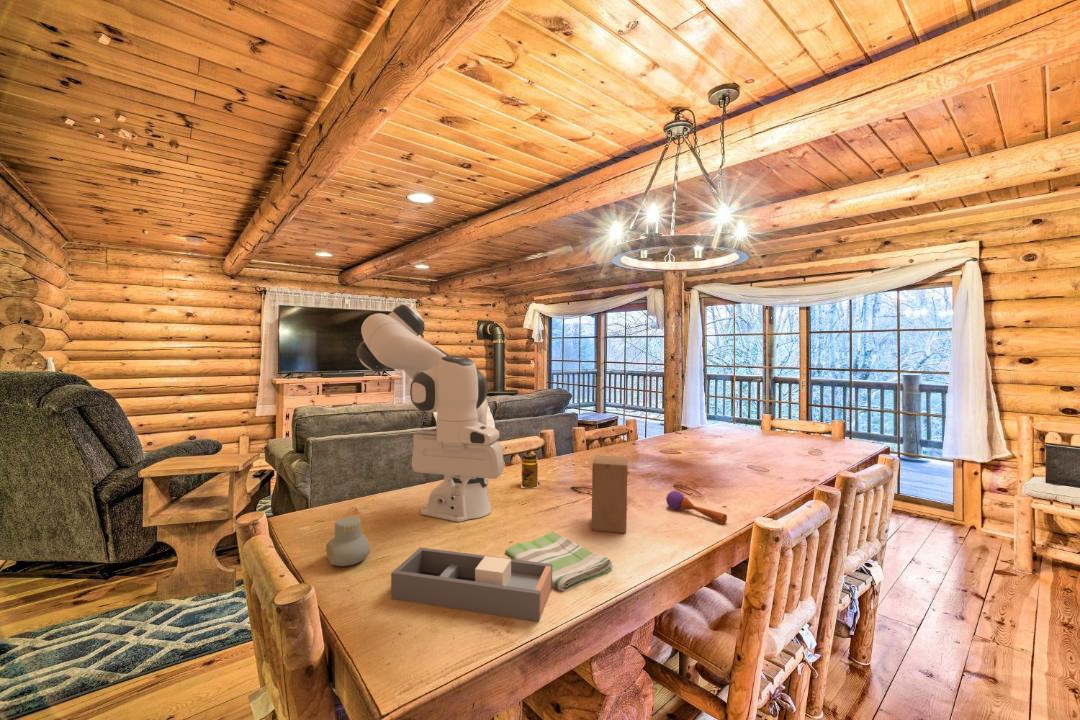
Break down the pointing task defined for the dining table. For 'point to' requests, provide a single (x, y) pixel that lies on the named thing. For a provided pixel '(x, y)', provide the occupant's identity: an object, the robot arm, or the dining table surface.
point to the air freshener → (347, 543)
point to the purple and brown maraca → (692, 507)
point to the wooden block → (609, 493)
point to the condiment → (530, 471)
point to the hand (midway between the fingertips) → (456, 495)
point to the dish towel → (562, 560)
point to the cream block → (493, 571)
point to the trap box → (472, 584)
